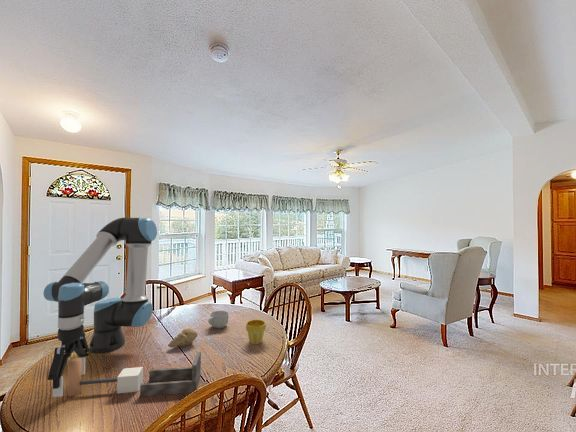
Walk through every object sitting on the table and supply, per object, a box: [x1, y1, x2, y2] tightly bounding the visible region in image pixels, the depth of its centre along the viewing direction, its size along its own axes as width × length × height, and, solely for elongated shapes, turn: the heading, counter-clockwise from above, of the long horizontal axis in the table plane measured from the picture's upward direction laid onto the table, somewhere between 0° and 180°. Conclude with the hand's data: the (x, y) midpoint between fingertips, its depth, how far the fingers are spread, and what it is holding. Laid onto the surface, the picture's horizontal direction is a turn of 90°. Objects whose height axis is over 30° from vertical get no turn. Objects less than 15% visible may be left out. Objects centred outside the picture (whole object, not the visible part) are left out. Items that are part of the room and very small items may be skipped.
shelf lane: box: [139, 351, 202, 397], centre depth 108 cm, size 20×10×10 cm, turn 98°
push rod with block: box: [66, 357, 144, 397], centre depth 105 cm, size 24×6×12 cm, turn 101°
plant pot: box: [245, 319, 267, 345], centre depth 147 cm, size 10×10×10 cm
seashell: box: [167, 328, 199, 348], centre depth 141 cm, size 14×8×8 cm, turn 141°
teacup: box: [208, 310, 230, 329], centre depth 166 cm, size 14×11×8 cm
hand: (70, 384), depth 103 cm, fingers open, 13 cm apart
